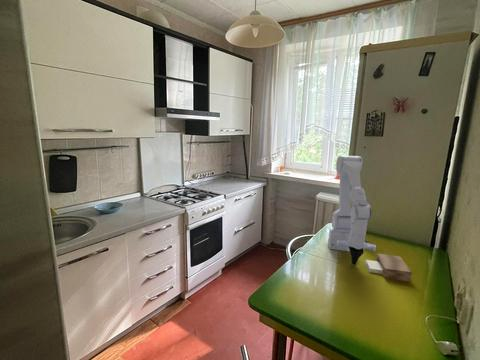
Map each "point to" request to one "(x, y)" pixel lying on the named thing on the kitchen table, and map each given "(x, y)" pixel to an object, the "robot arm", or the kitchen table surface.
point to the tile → (374, 266)
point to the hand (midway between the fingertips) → (353, 263)
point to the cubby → (394, 267)
